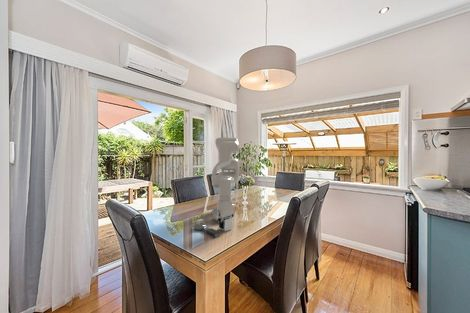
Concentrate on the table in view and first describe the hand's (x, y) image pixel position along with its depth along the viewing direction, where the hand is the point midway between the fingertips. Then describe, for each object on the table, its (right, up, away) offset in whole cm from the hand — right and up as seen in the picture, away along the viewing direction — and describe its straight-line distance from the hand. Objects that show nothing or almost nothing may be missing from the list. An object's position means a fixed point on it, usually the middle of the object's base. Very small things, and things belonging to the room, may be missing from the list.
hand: (225, 226), depth 127 cm
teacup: (-4, -1, +18) cm, 18 cm away
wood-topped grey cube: (0, -2, 0) cm, 2 cm away
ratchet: (-11, -2, -4) cm, 12 cm away
